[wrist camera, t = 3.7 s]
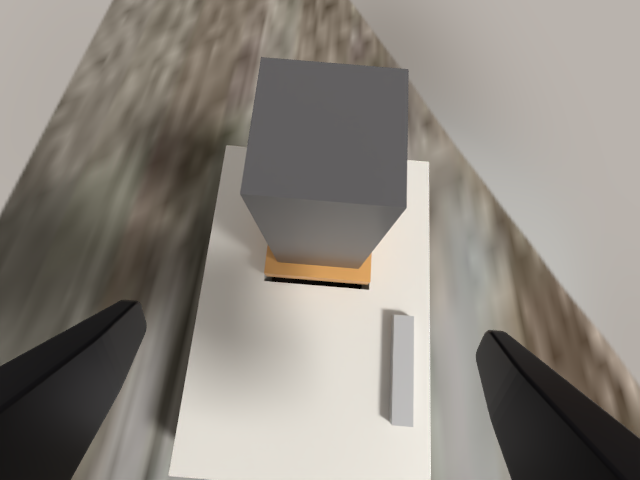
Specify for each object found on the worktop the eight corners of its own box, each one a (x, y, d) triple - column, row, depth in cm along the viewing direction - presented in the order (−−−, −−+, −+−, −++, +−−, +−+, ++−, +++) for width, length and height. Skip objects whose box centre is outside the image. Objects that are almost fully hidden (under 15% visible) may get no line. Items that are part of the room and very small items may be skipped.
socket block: (411, 470, 18) (435, 505, 14) (192, 451, 18) (162, 482, 14) (413, 183, 22) (432, 156, 19) (237, 168, 22) (223, 139, 19)
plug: (358, 291, 20) (431, 233, 8) (274, 284, 20) (210, 215, 8) (362, 212, 22) (430, 53, 9) (283, 206, 22) (242, 38, 9)
